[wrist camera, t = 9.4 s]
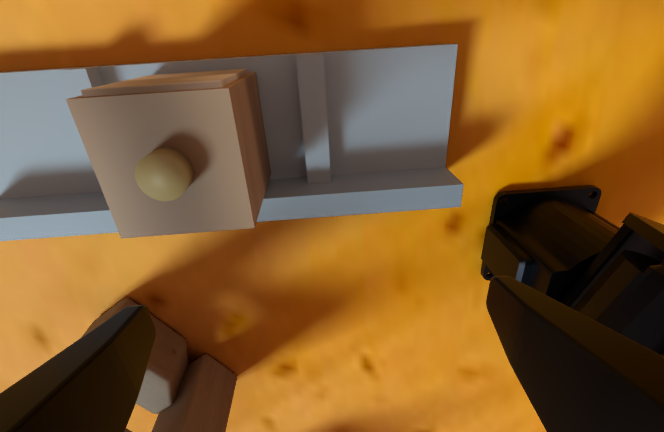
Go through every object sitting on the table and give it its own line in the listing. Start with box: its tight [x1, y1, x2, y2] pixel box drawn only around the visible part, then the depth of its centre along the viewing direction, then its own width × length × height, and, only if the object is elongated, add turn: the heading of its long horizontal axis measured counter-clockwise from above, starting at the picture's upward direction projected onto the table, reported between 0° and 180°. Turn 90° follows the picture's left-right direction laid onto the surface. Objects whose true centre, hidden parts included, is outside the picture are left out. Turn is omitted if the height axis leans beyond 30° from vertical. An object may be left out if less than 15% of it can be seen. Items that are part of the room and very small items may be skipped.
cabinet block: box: [66, 69, 271, 238], centre depth 14 cm, size 5×5×7 cm
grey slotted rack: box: [0, 44, 464, 241], centre depth 17 cm, size 24×7×4 cm, turn 93°
